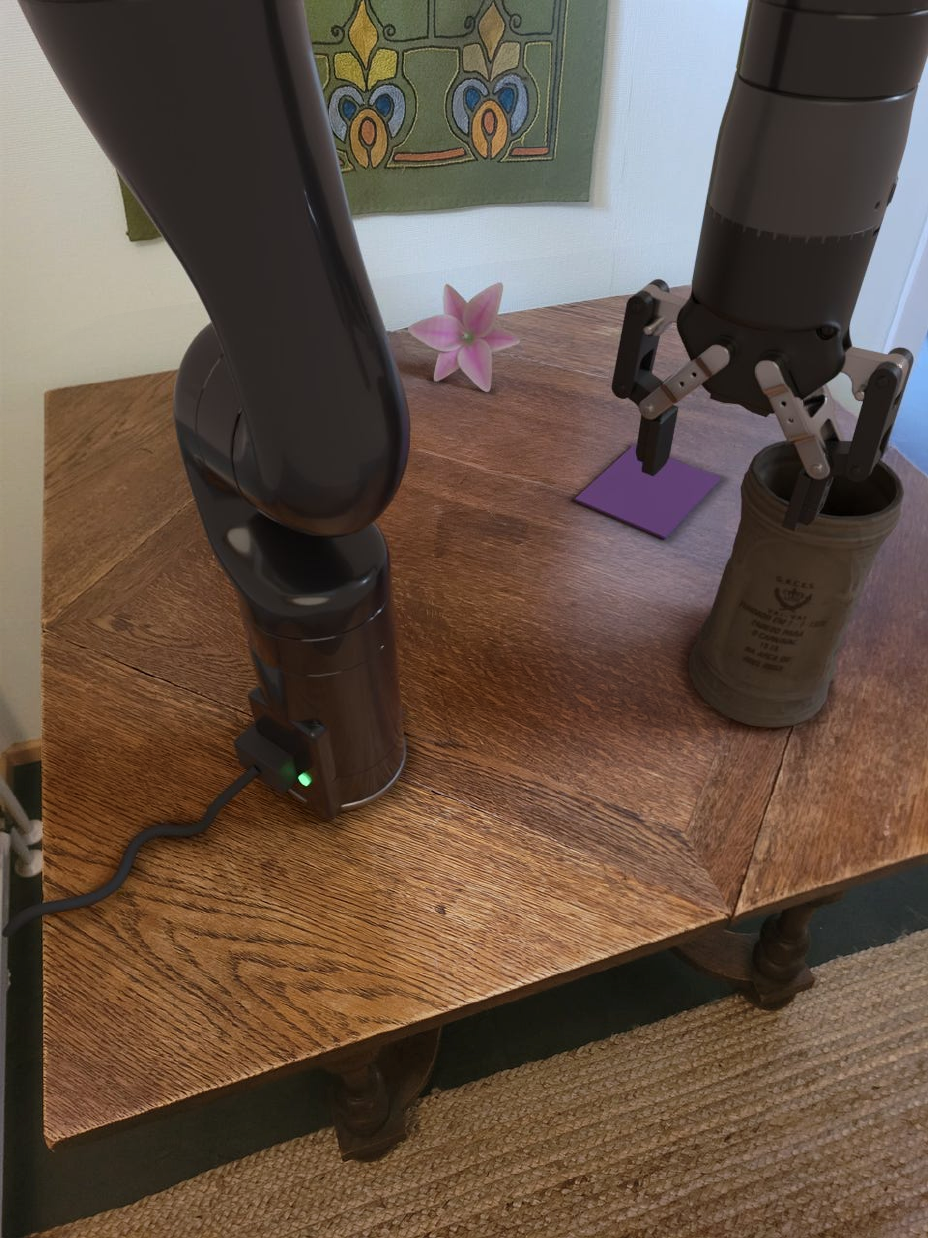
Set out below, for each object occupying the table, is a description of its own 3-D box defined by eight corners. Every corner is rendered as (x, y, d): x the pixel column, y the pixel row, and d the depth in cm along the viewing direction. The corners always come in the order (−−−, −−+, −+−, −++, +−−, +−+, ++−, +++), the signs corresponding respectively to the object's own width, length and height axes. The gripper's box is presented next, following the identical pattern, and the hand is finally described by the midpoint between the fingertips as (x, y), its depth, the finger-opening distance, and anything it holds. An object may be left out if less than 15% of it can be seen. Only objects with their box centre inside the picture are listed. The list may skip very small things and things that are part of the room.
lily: (400, 367, 108) (392, 321, 98) (464, 304, 110) (461, 253, 100) (474, 425, 105) (472, 382, 96) (537, 359, 107) (541, 311, 98)
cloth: (664, 539, 82) (665, 537, 82) (574, 500, 87) (574, 498, 86) (720, 479, 89) (720, 477, 89) (633, 446, 94) (634, 444, 93)
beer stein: (833, 748, 65) (931, 525, 52) (686, 725, 66) (746, 503, 53) (812, 617, 76) (889, 407, 63) (688, 599, 78) (738, 391, 65)
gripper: (609, 186, 39) (579, 483, 51) (940, 264, 33) (820, 581, 44) (686, 141, 43) (642, 424, 55) (991, 202, 37) (870, 506, 49)
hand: (722, 494), depth 50 cm, fingers open, 8 cm apart
